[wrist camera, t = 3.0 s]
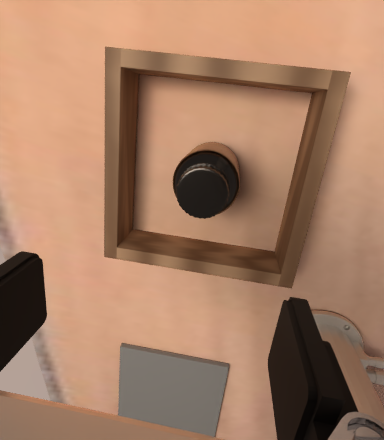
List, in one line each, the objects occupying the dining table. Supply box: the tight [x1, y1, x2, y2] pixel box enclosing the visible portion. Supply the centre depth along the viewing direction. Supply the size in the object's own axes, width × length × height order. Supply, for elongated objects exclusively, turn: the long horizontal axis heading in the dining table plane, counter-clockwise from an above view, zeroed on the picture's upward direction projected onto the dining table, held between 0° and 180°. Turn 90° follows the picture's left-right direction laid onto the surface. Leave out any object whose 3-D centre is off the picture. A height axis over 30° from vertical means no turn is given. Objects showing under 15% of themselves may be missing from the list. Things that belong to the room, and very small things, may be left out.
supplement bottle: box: [173, 142, 240, 219], centre depth 32 cm, size 7×7×12 cm
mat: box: [118, 343, 229, 437], centre depth 52 cm, size 18×18×1 cm
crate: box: [104, 47, 351, 288], centre depth 35 cm, size 23×23×6 cm
